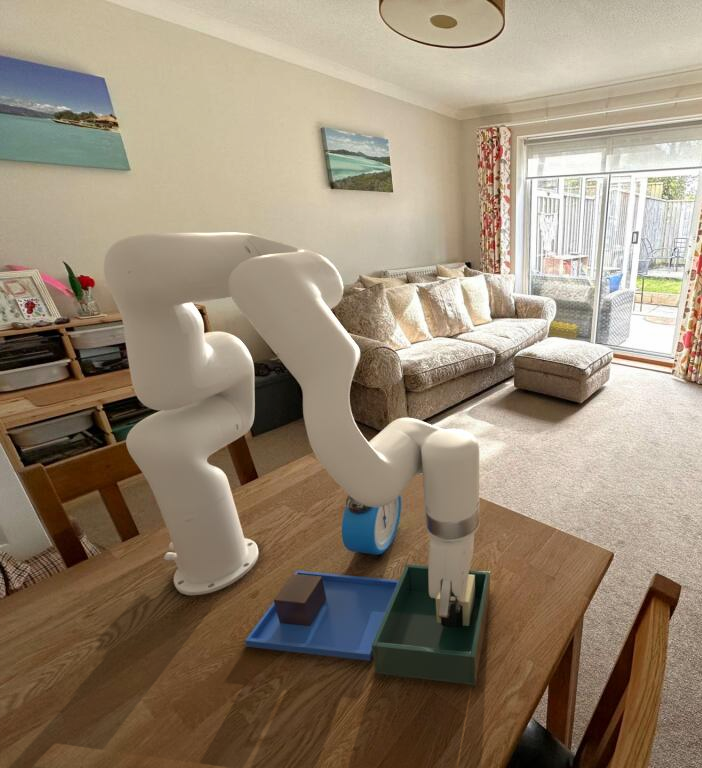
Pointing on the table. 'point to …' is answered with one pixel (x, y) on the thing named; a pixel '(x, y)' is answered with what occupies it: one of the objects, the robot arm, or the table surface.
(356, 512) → the alarm clock
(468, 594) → the cream block
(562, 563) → the table surface
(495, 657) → the table surface
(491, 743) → the table surface
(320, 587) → the walnut block
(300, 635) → the blue shallow tray
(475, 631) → the green storage bin
